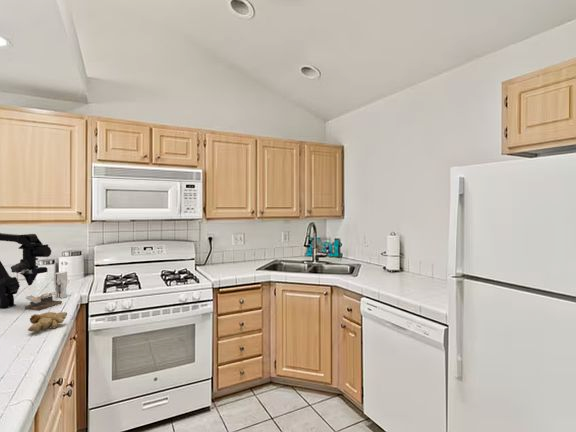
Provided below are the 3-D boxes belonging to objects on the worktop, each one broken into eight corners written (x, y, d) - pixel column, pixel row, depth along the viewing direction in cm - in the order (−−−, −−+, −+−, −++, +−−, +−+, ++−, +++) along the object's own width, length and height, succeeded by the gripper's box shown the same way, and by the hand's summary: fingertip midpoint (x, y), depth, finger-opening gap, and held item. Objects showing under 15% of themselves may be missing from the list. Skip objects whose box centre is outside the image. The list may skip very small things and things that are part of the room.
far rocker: (42, 298, 186) (42, 295, 186) (47, 296, 188) (46, 294, 189) (52, 295, 184) (51, 292, 184) (56, 293, 187) (56, 291, 187)
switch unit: (25, 309, 177) (24, 301, 177) (48, 302, 189) (48, 295, 189) (39, 310, 174) (39, 303, 174) (61, 303, 187) (61, 296, 187)
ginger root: (60, 316, 161) (60, 301, 160) (71, 331, 152) (71, 315, 150) (19, 325, 149) (19, 309, 148) (29, 343, 140) (29, 326, 138)
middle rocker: (35, 301, 181) (34, 298, 181) (40, 299, 184) (39, 297, 184) (44, 296, 180) (43, 294, 180) (49, 295, 182) (48, 292, 183)
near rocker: (25, 298, 177) (26, 296, 177) (31, 297, 180) (31, 295, 180) (35, 303, 175) (36, 300, 175) (40, 301, 178) (41, 299, 178)
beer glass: (51, 299, 196) (51, 274, 196) (56, 296, 203) (56, 272, 202) (65, 298, 198) (64, 273, 197) (69, 295, 204) (69, 271, 204)
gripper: (0, 258, 174) (1, 287, 175) (27, 259, 170) (27, 289, 170) (22, 255, 185) (22, 283, 185) (48, 256, 180) (48, 285, 181)
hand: (29, 285), depth 180 cm, fingers closed
